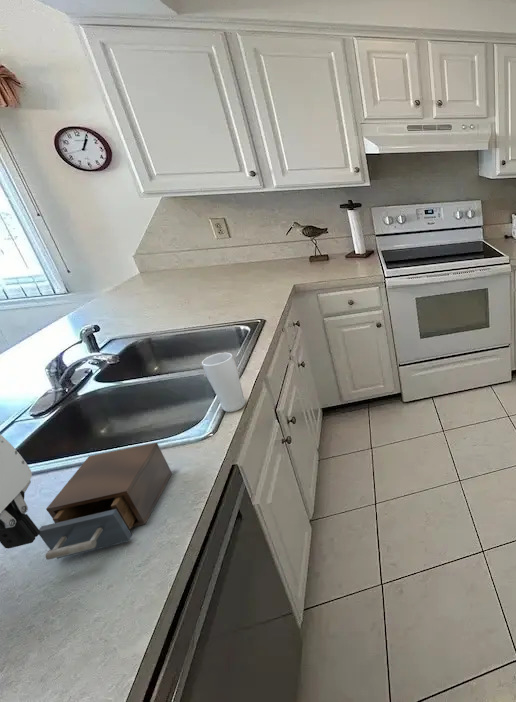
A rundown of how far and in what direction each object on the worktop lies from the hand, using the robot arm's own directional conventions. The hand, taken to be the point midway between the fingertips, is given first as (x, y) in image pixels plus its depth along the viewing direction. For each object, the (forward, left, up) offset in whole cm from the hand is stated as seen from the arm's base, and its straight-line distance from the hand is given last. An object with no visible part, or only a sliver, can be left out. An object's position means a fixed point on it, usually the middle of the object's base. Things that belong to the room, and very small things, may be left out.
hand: (23, 540), depth 59 cm
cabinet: (0, +20, -14) cm, 24 cm away
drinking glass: (+13, +49, -14) cm, 53 cm away
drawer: (0, +13, -13) cm, 18 cm away
